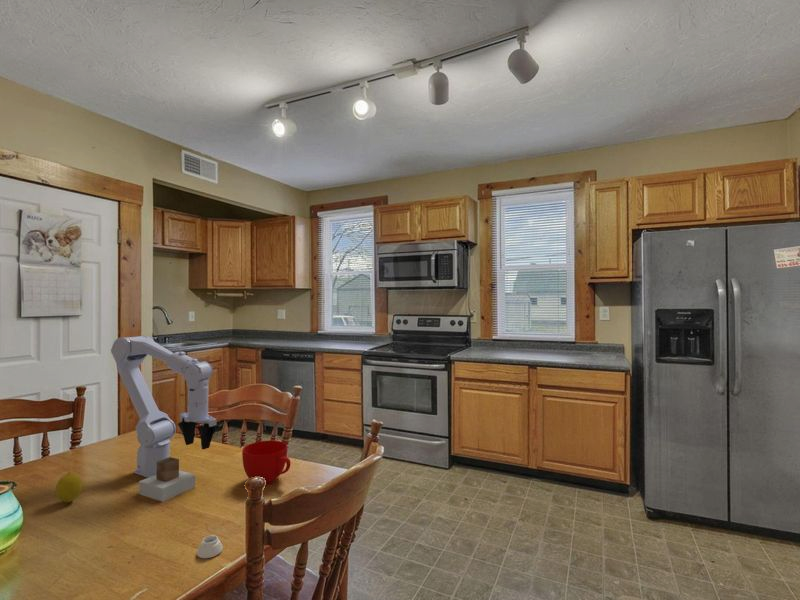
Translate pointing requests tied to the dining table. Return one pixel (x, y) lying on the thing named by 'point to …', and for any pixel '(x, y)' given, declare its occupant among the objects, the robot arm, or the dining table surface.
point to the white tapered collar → (209, 547)
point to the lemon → (69, 487)
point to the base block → (166, 486)
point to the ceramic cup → (265, 460)
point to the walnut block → (167, 469)
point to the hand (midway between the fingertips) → (197, 446)
